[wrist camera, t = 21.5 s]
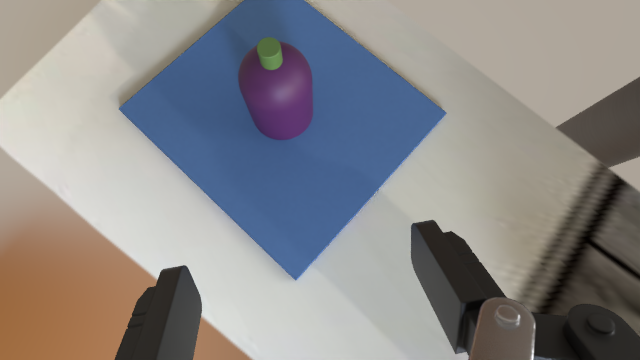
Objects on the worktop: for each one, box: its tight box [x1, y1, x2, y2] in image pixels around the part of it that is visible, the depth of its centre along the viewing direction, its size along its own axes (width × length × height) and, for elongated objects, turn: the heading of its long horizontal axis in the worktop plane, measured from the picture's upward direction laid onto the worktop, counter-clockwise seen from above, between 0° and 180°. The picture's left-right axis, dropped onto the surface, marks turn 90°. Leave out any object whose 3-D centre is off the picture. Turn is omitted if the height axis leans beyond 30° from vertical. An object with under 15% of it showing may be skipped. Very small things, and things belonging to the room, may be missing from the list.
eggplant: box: [238, 37, 313, 140], centre depth 25 cm, size 5×5×9 cm
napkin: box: [119, 0, 446, 280], centre depth 29 cm, size 20×18×1 cm
